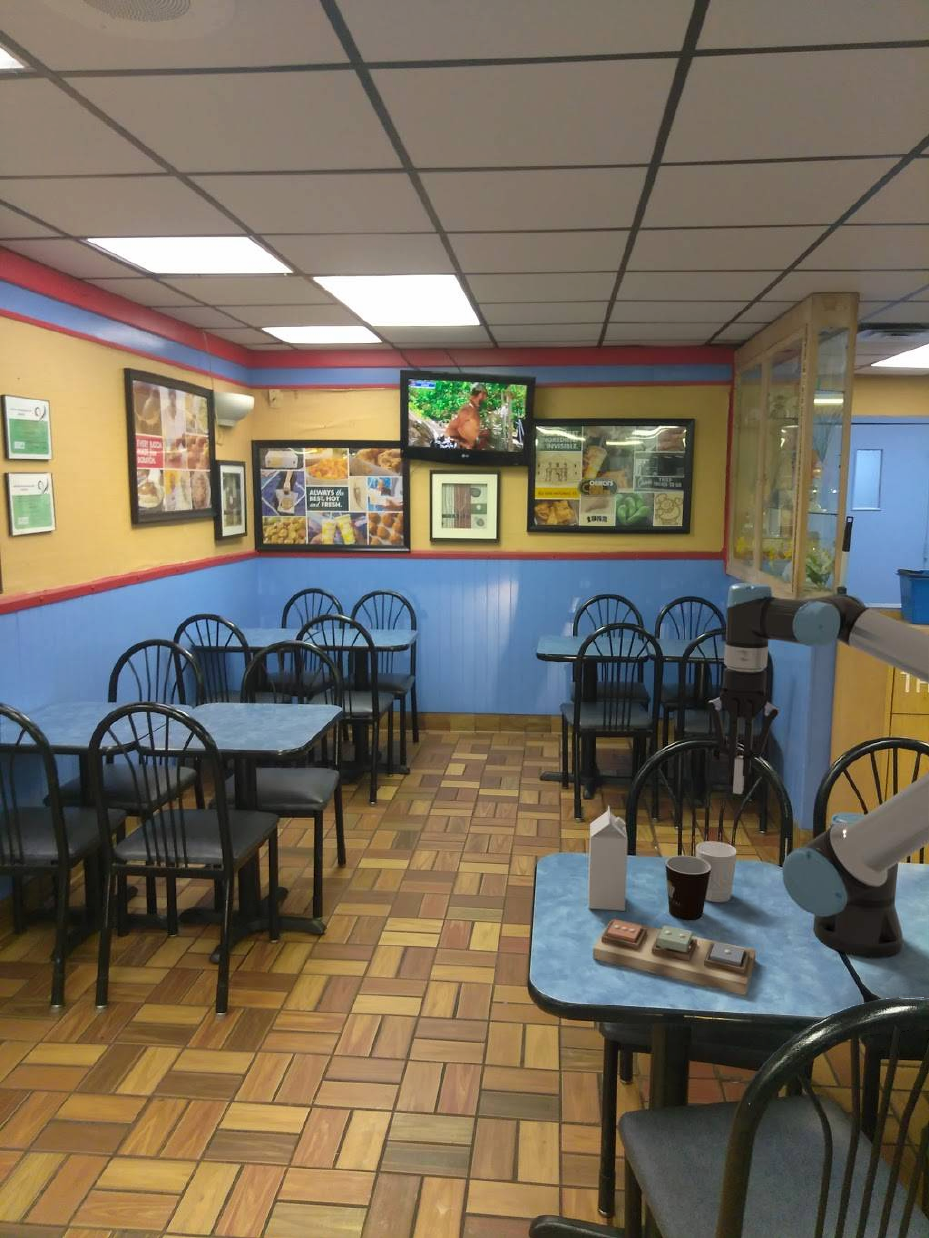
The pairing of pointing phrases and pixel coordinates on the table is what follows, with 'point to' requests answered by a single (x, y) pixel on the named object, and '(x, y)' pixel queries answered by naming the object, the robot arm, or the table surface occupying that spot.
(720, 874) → the white cup
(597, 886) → the milk carton
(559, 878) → the table surface
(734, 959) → the key one dot
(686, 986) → the table surface
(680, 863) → the coffee mug
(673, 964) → the keypad board
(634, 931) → the key three dots
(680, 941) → the key two dots
